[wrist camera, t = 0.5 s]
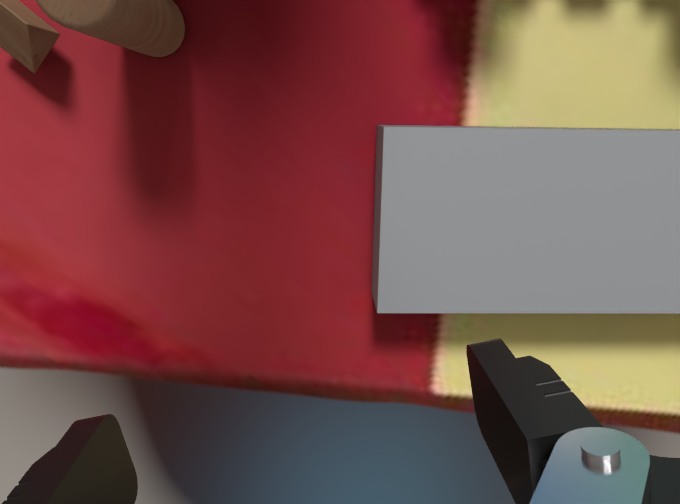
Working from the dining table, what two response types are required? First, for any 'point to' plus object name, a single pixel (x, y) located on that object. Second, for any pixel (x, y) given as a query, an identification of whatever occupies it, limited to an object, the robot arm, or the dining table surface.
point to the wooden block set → (91, 26)
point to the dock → (526, 220)
